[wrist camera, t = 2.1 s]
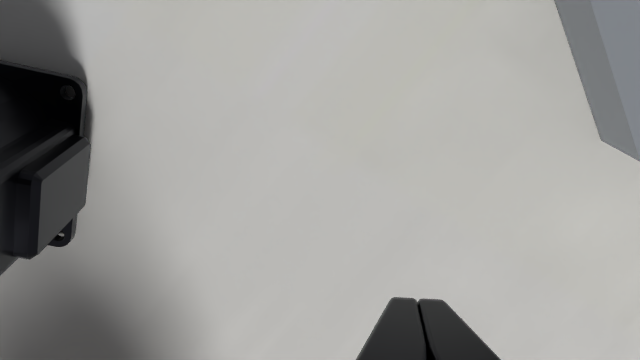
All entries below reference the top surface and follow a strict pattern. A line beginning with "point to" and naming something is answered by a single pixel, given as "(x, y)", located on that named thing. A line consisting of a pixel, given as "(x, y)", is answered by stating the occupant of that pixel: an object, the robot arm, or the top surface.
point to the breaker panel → (608, 65)
